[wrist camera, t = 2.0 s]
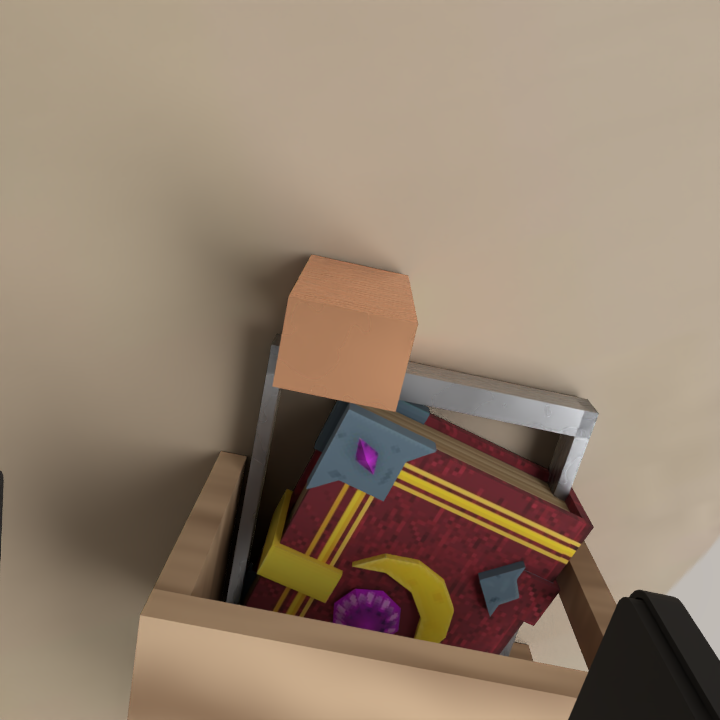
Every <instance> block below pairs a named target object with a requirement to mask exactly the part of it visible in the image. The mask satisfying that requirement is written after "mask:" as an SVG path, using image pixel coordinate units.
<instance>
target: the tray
mask: <svg viewBox="0 0 720 720" xmlns="http://www.w3.org/2000/svg"><path fill="white" fill-rule="evenodd" d="M417 326H418V321H417V316H416V311H415V307H414V302H413V297H412V292H411V287H410V282H409V278H408V275H403V274H399V273H394V272H389V271H385V270H380V269H376V268H371V267H366V266H362V265H357V264H353V263H348V262H344V261H339V260H334V259H330V258H325V257H321V256H316V255H311V256H310V258H309V260H308V262H307V264H306V266H305V267H304V269H303V271H302V273H301V275H300V276H299V278H298V280H297V282H296V284H295V286H294V287H293V289H292V291H291V293H290V295H289V298H288V303H287V309H286V314H285V320H284V325H283V331H282V335H281V334H277V335H276V337H275V339H274V341H273V343H272V345H271V351H270V357H269V362H268V368H267V374H266V379H265V385H264V391H263V396H262V402H261V407H260V413H259V419H258V424H257V430H256V436H255V441H254V447H253V453H252V458H251V464H250V470H249V475H248V481H247V487H246V492H245V498H244V504H243V509H242V515H241V521H240V526H239V532H238V538H237V543H236V549H235V555H234V560H233V566H232V572H231V577H230V583H229V589H228V594H227V600H226V603H231V604H236V605H240V604H241V599H242V594H243V588H244V583H245V578H246V573H247V570H248V565H249V560H250V554H251V549H252V544H253V538H254V533H255V528H256V522H257V517H258V512H259V506H260V501H261V495H262V490H263V485H264V479H265V474H266V469H267V463H268V458H269V453H270V447H271V442H272V437H273V431H274V426H275V420H276V415H277V410H278V404H279V399H280V394H281V388H282V389H287V390H292V391H297V392H302V393H306V394H311V395H316V396H321V397H326V398H331V399H335V400H340V401H345V402H350V403H355V404H359V405H364V406H369V407H374V408H379V409H383V410H388V411H393V412H396V408H397V405H398V401H399V400H402V401H407V402H412V403H417V404H421V405H426V406H431V407H436V408H441V409H445V410H450V411H455V412H460V413H465V414H469V415H474V416H479V417H484V418H488V419H493V420H498V421H503V422H508V423H512V424H517V425H522V426H527V427H532V428H536V429H541V430H546V431H551V432H556V433H560V434H561V435H560V438H559V441H558V443H557V446H556V449H555V452H554V455H553V458H552V460H551V463H550V466H549V469H548V472H549V477H548V480H547V484H548V486H549V488H550V490H551V492H552V494H553V496H554V497H556V498H558V499H560V500H562V501H565V500H566V498H567V497H568V495H569V492H570V490H571V487H572V484H573V482H574V479H575V476H576V473H577V471H578V468H579V465H580V463H581V460H582V457H583V455H584V452H585V449H586V447H587V444H588V441H589V438H590V436H591V433H592V430H593V428H594V425H595V422H596V420H597V417H598V414H599V413H598V412H597V411H596V410H595V408H594V407H593V406H592V404H591V403H590V402H589V401H588V399H583V398H579V397H574V396H569V395H564V394H560V393H555V392H550V391H546V390H541V389H536V388H531V387H527V386H522V385H517V384H512V383H508V382H503V381H498V380H494V379H489V378H484V377H479V376H475V375H470V374H465V373H460V372H456V371H451V370H446V369H442V368H437V367H432V366H427V365H423V364H418V363H413V362H408V361H409V357H410V354H411V350H412V346H413V342H414V338H415V334H416V330H417ZM517 632H518V630H517ZM517 632H516V633H515V634H514V636H513V637H512V638H511V640H510V641H509V642H508V644H507V645H506V646H505V648H504V649H503V651H502V652H501V653H500V655H502V656H507V657H508V656H509V654H510V651H511V648H512V646H513V643H514V640H515V637H516V635H517Z"/></svg>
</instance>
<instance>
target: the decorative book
mask: <svg viewBox="0 0 720 720" xmlns="http://www.w3.org/2000/svg"><path fill="white" fill-rule="evenodd" d="M314 449H316V450H315V452H314V454H313V455H312V457H311V459H310V461H309V463H308V465H307V467H306V468H305V470H304V472H303V474H302V476H301V478H300V480H299V481H298V483H297V485H296V487H295V489H294V491H291V490H289V489H286V491H285V493H284V495H283V496H282V498H281V500H280V502H279V504H278V506H277V508H276V510H275V511H274V513H273V516H272V519H271V523H270V527H269V530H268V534H267V538H266V541H265V544H264V546H263V548H262V550H261V552H260V554H259V556H258V557H257V559H256V561H255V563H254V565H253V564H252V563H250V565H249V567H248V570H247V573H246V578H245V583H244V588H243V594H242V599H241V604H240V605H241V606H247V607H252V608H257V609H262V610H267V611H273V612H278V613H283V614H288V615H294V616H299V617H304V618H309V619H314V620H320V621H325V622H330V623H335V624H340V625H346V626H351V627H356V628H361V629H366V630H372V631H377V632H382V633H387V634H393V635H398V636H403V637H408V638H413V639H419V640H424V641H429V642H434V643H439V644H445V645H450V646H455V647H460V648H466V649H471V650H476V651H481V652H486V653H492V654H497V655H500V653H501V652H502V651H503V649H504V648H505V646H506V645H507V644H508V642H509V641H510V640H511V638H512V637H513V636H514V634H515V633H516V632H517V630H518V629H519V628H520V626H521V625H522V624H523V622H526V623H528V624H531V625H533V626H534V625H535V624H536V622H537V621H538V620H539V618H540V617H541V616H542V614H543V613H544V612H545V610H546V609H547V608H548V606H549V605H550V604H551V602H552V601H553V600H554V598H555V597H556V596H557V594H558V593H559V592H560V587H559V585H558V582H557V580H556V578H557V576H558V575H559V574H560V572H561V571H562V570H563V568H564V567H565V565H566V564H567V563H568V561H569V560H570V559H571V557H572V556H573V555H574V553H575V552H576V551H577V549H578V548H579V547H580V545H581V544H582V543H583V541H584V540H585V538H586V537H587V536H588V534H589V533H590V532H591V530H592V529H593V528H594V527H593V525H592V523H591V522H590V520H589V518H588V516H587V514H586V512H585V511H584V509H583V507H582V505H581V503H580V501H579V500H578V498H577V496H576V494H575V492H574V490H573V489H572V487H571V490H570V492H569V495H568V497H567V498H566V500H565V501H562V500H560V499H558V498H556V497H554V496H553V494H552V492H551V490H550V488H549V486H548V484H547V480H548V477H549V472H548V469H545V468H543V467H541V466H539V465H537V464H535V463H533V462H531V461H529V460H527V459H525V458H523V457H520V456H518V455H516V454H514V453H512V452H510V451H508V450H506V449H504V448H502V447H500V446H498V445H495V444H493V443H491V442H489V441H487V440H485V439H483V438H481V437H479V436H477V435H475V434H473V433H470V432H468V431H466V430H464V429H462V428H460V427H458V426H456V425H454V424H452V423H450V422H448V421H445V420H443V419H441V418H439V417H437V416H435V415H433V414H431V413H430V411H429V408H428V407H426V406H424V405H421V404H417V403H412V402H407V401H402V400H399V401H398V405H397V408H396V412H393V411H388V410H383V409H379V408H374V407H369V406H364V405H359V404H355V403H350V402H345V401H340V400H337V402H336V404H335V406H334V408H333V410H332V412H331V413H330V415H329V417H328V419H327V421H326V423H325V425H324V427H323V429H322V431H321V432H320V434H319V436H318V438H317V440H316V442H315V446H314Z"/></svg>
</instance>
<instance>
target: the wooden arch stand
mask: <svg viewBox="0 0 720 720" xmlns="http://www.w3.org/2000/svg"><path fill="white" fill-rule="evenodd" d="M246 459H247V456H242V455H237V454H232V453H228V452H223V451H221V452H220V454H219V456H218V458H217V460H216V462H215V464H214V466H213V468H212V470H211V473H210V475H209V477H208V479H207V481H206V483H205V485H204V487H203V489H202V491H201V493H200V495H199V497H198V499H197V501H196V503H195V505H194V507H193V509H192V511H191V513H190V515H189V517H188V519H187V521H186V523H185V525H184V527H183V529H182V531H181V533H180V535H179V537H178V539H177V541H176V543H175V545H174V547H173V549H172V552H171V554H170V556H169V558H168V560H167V562H166V564H165V566H164V568H163V570H162V572H161V574H160V576H159V578H158V580H157V582H156V584H155V586H154V588H153V590H152V592H151V594H150V596H149V598H148V600H147V602H146V604H145V606H144V608H143V610H142V612H141V614H140V620H139V628H138V636H137V645H136V653H135V661H134V669H133V677H132V686H131V694H130V702H129V710H128V718H127V720H568V718H569V716H570V714H571V711H572V709H573V707H574V704H575V702H576V700H577V697H578V695H579V693H580V690H581V688H582V686H583V683H584V681H585V679H586V676H587V674H588V672H585V671H580V670H575V669H570V668H565V667H559V666H554V665H549V664H544V663H538V662H533V659H532V655H531V652H530V649H529V645H525V644H520V643H515V642H514V643H513V646H512V648H511V651H510V654H509V656H508V657H507V656H502V655H497V654H492V653H486V652H481V651H476V650H471V649H466V648H460V647H455V646H450V645H445V644H439V643H434V642H429V641H424V640H419V639H413V638H408V637H403V636H398V635H393V634H387V633H382V632H377V631H372V630H366V629H361V628H356V627H351V626H346V625H340V624H335V623H330V622H325V621H320V620H314V619H309V618H304V617H299V616H294V615H288V614H283V613H278V612H273V611H267V610H262V609H257V608H252V607H247V606H241V605H236V604H231V603H226V602H222V597H223V591H224V586H225V580H226V574H227V568H228V563H229V557H230V551H231V545H232V539H233V534H234V528H235V522H236V516H237V511H238V505H239V499H240V493H241V488H242V482H243V476H244V470H245V465H246ZM556 580H557V582H558V585H559V587H560V592H559V595H560V598H561V601H562V603H563V606H564V608H565V611H566V613H567V616H568V619H569V621H570V624H571V626H572V629H573V631H574V634H575V636H576V639H577V642H578V644H579V647H580V649H581V652H582V654H583V657H584V659H585V662H586V665H587V667H588V670H589V669H590V667H591V664H592V662H593V660H594V657H595V655H596V653H597V650H598V648H599V646H600V643H601V641H602V639H603V636H604V634H605V632H606V629H607V627H608V624H609V622H610V620H611V617H612V615H613V613H614V610H615V608H616V606H617V605H616V603H615V601H614V599H613V597H612V595H611V593H610V591H609V589H608V587H607V585H606V583H605V581H604V579H603V577H602V575H601V573H600V571H599V569H598V567H597V565H596V563H595V561H594V559H593V557H592V555H591V553H590V551H589V549H588V547H587V545H586V543H585V541H583V543H582V544H581V545H580V547H579V548H578V549H577V551H576V552H575V553H574V555H573V556H572V557H571V559H570V560H569V561H568V563H567V564H566V565H565V567H564V568H563V570H562V571H561V572H560V574H559V575H558V576H557V578H556Z"/></svg>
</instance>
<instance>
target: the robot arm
mask: <svg viewBox="0 0 720 720" xmlns="http://www.w3.org/2000/svg"><path fill="white" fill-rule="evenodd" d="M3 483H4V480H3V474H2V472H1V471H0V559H1V533H2V508H3ZM568 720H720V660H719V659H718V657H717V656H716V654H715V653H714V651H713V650H712V648H711V647H710V645H709V644H708V642H707V641H706V639H705V637H704V636H703V634H702V633H701V631H700V630H699V628H698V627H697V625H696V624H695V622H694V621H693V619H692V618H691V616H690V614H689V613H688V611H687V610H686V608H685V607H684V606H683V604H682V603H681V601H680V600H679V599H677V598H675V597H672V596H668V595H663V594H658V593H653V592H648V591H643V590H636V591H634V592H633V593H632V594H631V595H630V597H629V598H628V597H623V598H621V599H620V600H619V602H618V604H617V606H616V608H615V610H614V613H613V615H612V617H611V620H610V622H609V624H608V627H607V629H606V632H605V634H604V636H603V639H602V641H601V643H600V646H599V648H598V650H597V653H596V655H595V657H594V660H593V662H592V664H591V667H590V669H589V671H588V674H587V676H586V679H585V681H584V683H583V686H582V688H581V690H580V693H579V695H578V697H577V700H576V702H575V704H574V707H573V709H572V711H571V714H570V716H569V718H568Z"/></svg>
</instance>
